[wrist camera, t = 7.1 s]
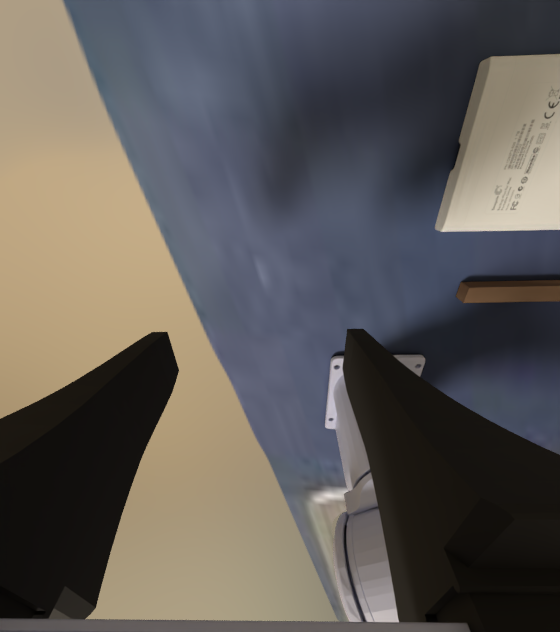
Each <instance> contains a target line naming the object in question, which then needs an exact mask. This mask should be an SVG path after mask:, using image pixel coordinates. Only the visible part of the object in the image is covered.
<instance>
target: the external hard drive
mask: <svg viewBox="0 0 560 632" xmlns="http://www.w3.org/2000/svg"><path fill="white" fill-rule="evenodd" d="M459 144H460V147H459V151H458V155H457V159H456V164H455V166H454V169H452V170H451V172H450V174H449V178H448V181H447V185H446V189H445V192H444V196H443V200H442V203H441V207H440V211H439V214H438V218H437V221H436V225H435V229H436V230H439V231H441V232H449V231H515V230H560V54H546V55H522V56H492V57H489V58H487V59H485V60H483V61H481V62H480V64H479V68H478V72H477V76H476V79H475V83H474V87H473V90H472V94H471V98H470V101H469V105H468V109H467V112H466V116H465V120H464V123H463V127H462V131H461V134H460V138H459Z"/></svg>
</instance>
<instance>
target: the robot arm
mask: <svg viewBox="0 0 560 632" xmlns="http://www.w3.org/2000/svg"><path fill="white" fill-rule="evenodd" d="M417 364H418V365H417ZM424 364H425V358H424V357H423V356H422V355H392V354H391V353H390V352H388V351H387V350H386V349H385V348H384V347H383V346H382V345H381V344H379V343H378V342H377V341H376V340H375V339H374V338H373V337H372V336H371V335H370V334H368V333H367V332H366V331H365V330H364V329H347V336H346V344H345V352H344V356H334V357H333V358H332V359H331V365H330V376H329V386H328V396H327V407H326V417H325V426H326V428H328V429H336V434H337V439H338V444H339V450H340V455H341V460H342V465H343V470H344V475H345V481H346V485H347V488H348V490H349V492H346V493H345V494H344V497H345V502H346V508H347V512H344V513H342V514H341V515H340V517H339V518H338V521H337V524H336V528H335V536H334V542H333V559H334V568H335V575H336V580H337V585H338V589H339V593H340V596H341V600H342V603H343V606H344V609H345V612H346V614H347V617H348V619H349V621H350V622H314V621H311V622H310V621H208V620H206V621H205V620H105V619H86V618H87V617H88V616H89V615H90V614H91V613H92V612H93V610H94V609H95V608H96V604H97V600H98V597H99V593H100V589H101V584H102V581H103V578H104V574H105V570H106V567H107V563H108V559H109V555H110V552H111V548H112V545H113V542H114V539H115V535H116V532H117V529H118V525H119V522H120V519H121V515H122V512H123V509H124V506H125V503H126V500H127V497H128V494H129V491H130V488H131V486H132V483H133V480H134V477H135V474H136V472H137V469H138V466H139V463H140V460H141V458H142V455H143V453H144V451H145V449H146V446H147V444H148V442H149V440H150V438H151V436H152V434H153V432H154V429H155V427H156V425H157V423H158V421H159V419H160V417H161V415H162V413H163V411H164V409H165V406H166V404H167V402H168V400H169V398H170V396H171V394H172V391H173V388H174V385H175V382H176V379H177V375H178V371H179V369H178V366H177V363H176V359H175V356H174V353H173V350H172V346H171V343H170V339H169V336H168V333H167V332H152V333H150V334H148V335H147V336H145V337H143V338H142V339H140V340H139V341H137V342H135V343H134V344H133V345H131V346H129V347H128V348H126V349H125V350H123V351H122V352H120V353H119V354H117V355H116V356H114V357H113V358H111V359H110V360H108V361H106V362H105V363H103V364H102V365H101V366H99V367H97V368H95V369H94V370H92V371H90V372H89V373H87V374H86V375H84V376H82V377H81V378H79V379H77V380H76V381H74V382H72V383H71V384H69V385H67V386H65V387H63V388H62V389H60V390H58V391H56V392H54V393H53V394H50V395H49V396H47V397H45V398H43V399H41V400H39V401H37V402H35V403H33V404H31V405H29V406H27V407H25V408H22V409H20V410H19V411H16V412H14V413H12V414H10V415H7V416H5V417H3V418H1V419H0V632H560V455H559V454H556V453H554V452H552V451H550V450H547V449H545V448H543V447H541V446H539V445H537V444H535V443H532V442H530V441H528V440H526V439H524V438H522V437H520V436H518V435H516V434H514V433H512V432H510V431H508V430H506V429H504V428H502V427H501V426H499V425H497V424H495V423H493V422H491V421H489V420H487V419H486V418H484V417H482V416H480V415H479V414H477V413H475V412H473V411H472V410H470V409H468V408H466V407H465V406H463V405H461V404H460V403H458V402H456V401H455V400H453V399H452V398H450V397H448V396H447V395H445V394H444V393H442V392H441V391H439V390H438V389H436V388H435V387H433V386H432V385H430V384H429V383H428V382H426V381H425V380H423V379H422V378H421V377H420V376H421V373H422V370H423V367H424ZM335 365H339V366H336V367H335Z"/></svg>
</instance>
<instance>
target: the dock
mask: <svg viewBox="0 0 560 632" xmlns="http://www.w3.org/2000/svg"><path fill="white" fill-rule="evenodd" d="M456 297H457V298H458V299H459V300H461V301H462V302H463V303H484V302H538V301H560V280H533V281H484V282H461V283H460V286H459V289H458V292H457V294H456Z"/></svg>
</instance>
